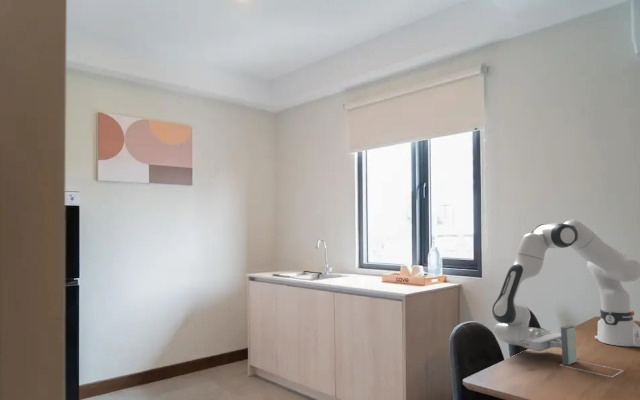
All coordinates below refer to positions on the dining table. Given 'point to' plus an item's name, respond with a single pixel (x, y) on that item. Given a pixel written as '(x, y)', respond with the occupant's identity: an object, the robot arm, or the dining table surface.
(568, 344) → the tile
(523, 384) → the dining table surface
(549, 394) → the dining table surface
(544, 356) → the dining table surface
